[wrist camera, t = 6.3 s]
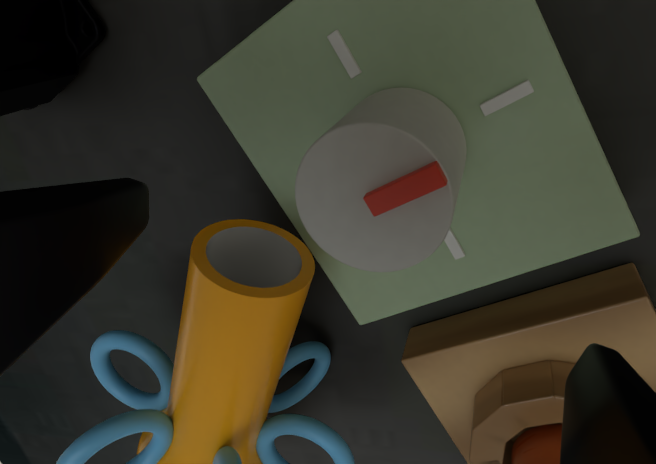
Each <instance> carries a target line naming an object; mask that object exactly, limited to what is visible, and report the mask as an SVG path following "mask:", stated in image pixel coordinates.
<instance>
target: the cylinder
mask: <svg viewBox="0 0 656 464" xmlns="http://www.w3.org/2000/svg"><path fill="white" fill-rule="evenodd" d="M314 272H315V262H314V259H313V256H312V254H311V252H310V251H309V249H308V248H307V247H306V245H305V244H304V243H303V242H302V241H301V240H299V239H298V238H297V237H295V236H294V235H293V234H291V233H289V232H288V231H286V230H284V229H282V228H279V227H277V226H274V225H271V224H268V223H265V222H260V221H255V220H246V219H233V220H225V221H220V222H217V223H214V224H211V225H209V226H207V227H205V228H204V229H202V230H201V231H200V232H199V233H198V234H197V235H196V237H195V238H194V240H193V242H192V246H191V253H190V259H189V266H188V273H187V280H186V287H185V293H184V300H183V307H182V314H181V320H180V327H179V334H178V341H177V347H176V354H175V361H174V364H173V363H172V361H171V360H170V358H169V357H168V356H167V355H166V354H165V352H164V351H163V350H162V349H161V348H159V347H158V346H157V345H156V344H154V343H153V342H152V341H150V340H149V339H147V338H145V337H143V336H141V335H139V334H136V333H133V332H130V331H124V330H114V331H109V332H106V333H104V334H102V335H101V336H99V337H98V338H97V339H96V340H95V342H94V343H93V345H92V348H91V353H90V360H91V365H92V368H93V371H94V373H95V375H96V377H97V378H98V380H99V381H100V383H101V384H102V385H103V386H104V387H105V389H106V390H107V391H108V392H109V393H111V394H112V395H113V396H114V397H115V398H117V399H118V400H120V401H121V402H123V403H124V404H126V405H128V406H130V407H132V408H135V409H138V410H133V411H129V412H125V413H122V414H119V415H116V416H114V417H112V418H109V419H107V420H105V421H103V422H101V423H99V424H98V425H96V426H94V427H93V428H91V429H89V430H88V431H86V432H85V433H84V434H82V435H81V436H80V437H79V438H77V439H76V440H75V441H74V442H73V443H72V444H71V445H70V446H69V447H68V448H67V449H66V450H65V451H64V452H63V454H62V455H61V456H60V458H59V459H58V461H57V463H56V464H84V463H85V462H86V461H87V460H88V459H89V458H90V457H91V456H93V455H94V454H95V453H96V452H98V451H99V450H100V449H102V448H103V447H105V446H107V445H108V444H110V443H112V442H114V441H116V440H118V439H120V438H122V437H125V436H128V435H131V434H134V433H139V432H142V435H141V437H140V441H139V445H138V450H137V456H135V457H134V458H133V459H131V460H130V461H128V462H127V463H125V464H290V463H288V462H287V461H286V460H285V459H284V458H283V457H282V456H281V455H280V454H279V453H278V451H277V449H276V447H275V444H274V440H275V438H276V437H278V436H281V435H296V436H300V437H304V438H306V439H309V440H311V441H313V442H315V443H316V444H318V445H319V446H321V447H322V448H323V449H324V450H326V451H327V452H328V453H329V455H330V456H331V457H332V459H333V460H334V463H335V464H355V462H354V457H353V454H352V452H351V450H350V448H349V446H348V445H347V443H346V442H345V441H344V439H343V438H342V437H341V436H340V435H339V434H338V433H337V432H336V431H334V430H333V429H332V428H330V427H329V426H327V425H326V424H324V423H322V422H320V421H318V420H316V419H314V418H311V417H308V416H304V415H299V414H280V415H276V416H273V417H271V418H269V419H268V420H267V419H266V418H267V415H268V413H274V412H279V411H282V410H284V409H287V408H289V407H291V406H292V405H294V404H296V403H297V402H299V401H300V400H302V399H303V398H304V397H306V396H307V395H308V394H309V393H310V392H311V391H312V390H313V389H314V388H315V387H316V386H317V385H318V384H319V383H320V381H321V380H322V379H323V377H324V376H325V374H326V372H327V370H328V368H329V365H330V361H331V354H330V351H329V349H328V347H327V346H326V345H325V344H323V343H321V342H317V341H309V342H304V343H301V344H298V345H296V346H294V347H292V348H290V349H289V347H290V344H291V341H292V338H293V335H294V332H295V329H296V326H297V323H298V320H299V317H300V314H301V311H302V308H303V305H304V302H305V299H306V296H307V293H308V290H309V287H310V284H311V281H312V278H313V275H314ZM114 349H120V350H124V351H127V352H130V353H132V354H134V355H136V356H137V357H139V358H140V359H142V360H143V361H144V362H145V363H147V364H148V365H149V366H150V368H151V369H152V370H153V371H154V372H155V374H156V375H157V377H158V379H159V382H160V385H161V391H160V392H159V393H147V392H144V391H141V390H139V389H137V388H135V387H133V386H132V385H130V384H129V383H128V382H126V381H125V380H124V379H123V378H122V377H121V376H120V375H119V374H118V372H117V371H116V370H115V368H114V366H113V364H112V362H111V359H110V352H111V350H114ZM312 358H315V361H314V364H313V366H312V367H311V369H310V370H309V372H308V373H307V374H306V375H305V376H304V377H303V378H302V379H301V380H300V381H299V382H298V383H297V384H295V385H294V386H293V387H291V388H290V389H288V390H286V391H284V392H282V393H280V394H277V395H274V393H275V390H276V387H277V384H278V381H279V379H280V378H281V377H282V376H283V375H284V374H285V373H286V372H288V371H289V370H290V369H291V368H293V367H294V366H296V365H297V364H299V363H301V362H303V361H305V360H308V359H312Z"/></svg>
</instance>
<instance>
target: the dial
mask: <svg viewBox="0 0 656 464" xmlns="http://www.w3.org/2000/svg"><path fill="white" fill-rule="evenodd" d="M466 154H467V147H466V139H465V136H464V132H463V129H462V127H461V125H460V123H459V121H458V119H457V118H456V116H455V115H454V113H453V112H452V111H451V110H450V109H449V108H448V107H447V106H446V105H445V104H444V103H443V102H442V101H440V100H439V99H437V98H436V97H434V96H432V95H430V94H429V93H426V92H423V91H421V90H417V89H412V88H403V87H400V88H390V89H385V90H382V91H379V92H376V93H374V94H372V95H370V96H368V97H367V98H365V99H364V100H362V101H361V102H360V103H359V104H358V105H356V106H355V107H354V108H353V109H352V110H351V111H350V112H348V113H347V114H346V115H345V116H344V117H343V118H342V119H340V120H339V121H338V122H337V123H336V124H335V125H334V126H332V127H331V128H330V129H329V130H328V131H327V132H325V133H324V134H323V135H322V136H321V137H320V138H319V139H318V140H316V141H315V142H314V143H313V144H312V145H311V147H310V148H309V149H308V150H307V152H306V153H305V155H304V157H303V158H302V160H301V163H300V165H299V167H298V171H297V175H296V181H295V199H296V206H297V209H298V213H299V216H300V218H301V220H302V223H303V225H304V227H305V228H306V230H307V232H308V233H309V235H310V236H311V237H312V239H313V240H314V241H315V242H316V243H317V244H318V245H319V246H320V247H321V248H322V249H323V250H324V251H325V252H326V253H328V254H329V255H330V256H332V257H333V258H335V259H336V260H338V261H340V262H342V263H344V264H346V265H348V266H351V267H354V268H357V269H360V270H365V271H370V272H393V271H399V270H403V269H406V268H409V267H412V266H414V265H416V264H418V263H420V262H422V261H423V260H425V259H426V258H428V257H429V256H430V255H431V254H433V253H434V252H435V250H436V249H437V248H438V247H439V246H440V245H441V243H442V242H443V240H444V239H445V237H446V235H447V233H448V231H449V229H450V226H451V223H452V219H453V215H454V211H455V206H456V202H457V198H458V193H459V189H460V185H461V180H462V176H463V172H464V167H465V163H466Z"/></svg>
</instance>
